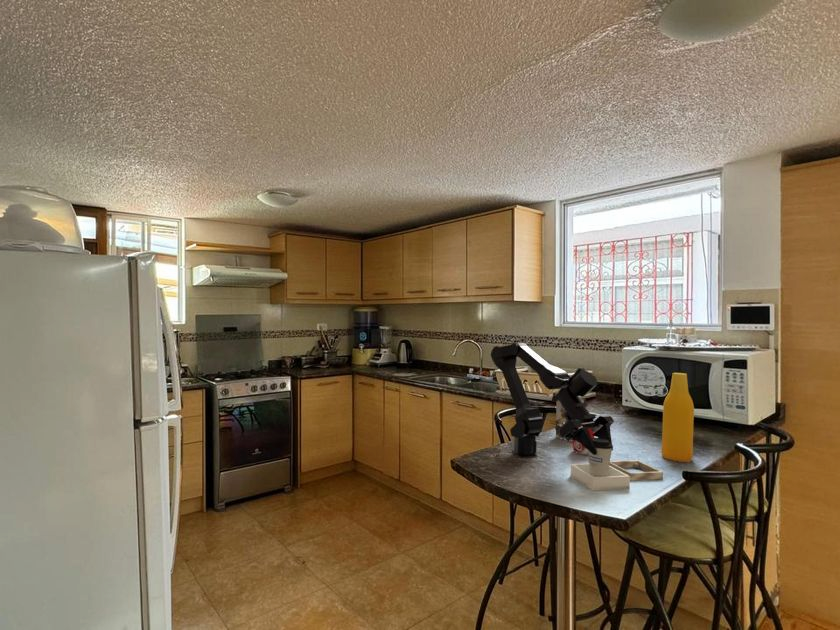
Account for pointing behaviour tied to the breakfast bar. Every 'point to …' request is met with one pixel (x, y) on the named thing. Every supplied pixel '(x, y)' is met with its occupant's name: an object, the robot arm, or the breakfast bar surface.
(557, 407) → the coffee box
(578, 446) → the soda can
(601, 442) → the coffee cup
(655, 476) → the tray
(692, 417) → the beer bottle
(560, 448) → the breakfast bar surface
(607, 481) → the shallow beige tray
